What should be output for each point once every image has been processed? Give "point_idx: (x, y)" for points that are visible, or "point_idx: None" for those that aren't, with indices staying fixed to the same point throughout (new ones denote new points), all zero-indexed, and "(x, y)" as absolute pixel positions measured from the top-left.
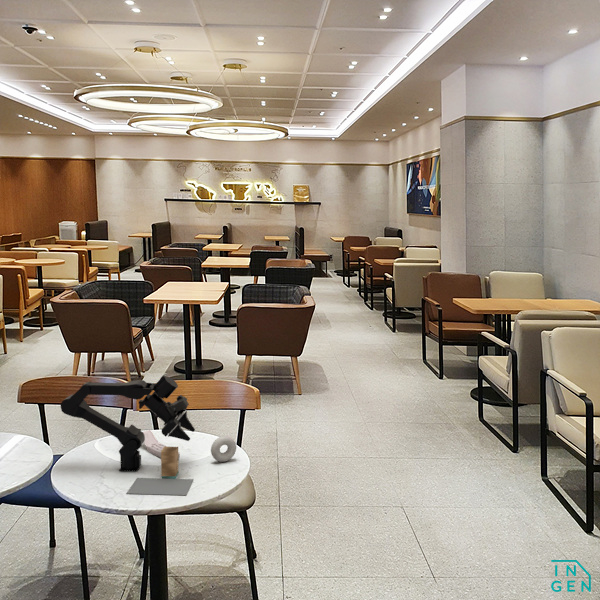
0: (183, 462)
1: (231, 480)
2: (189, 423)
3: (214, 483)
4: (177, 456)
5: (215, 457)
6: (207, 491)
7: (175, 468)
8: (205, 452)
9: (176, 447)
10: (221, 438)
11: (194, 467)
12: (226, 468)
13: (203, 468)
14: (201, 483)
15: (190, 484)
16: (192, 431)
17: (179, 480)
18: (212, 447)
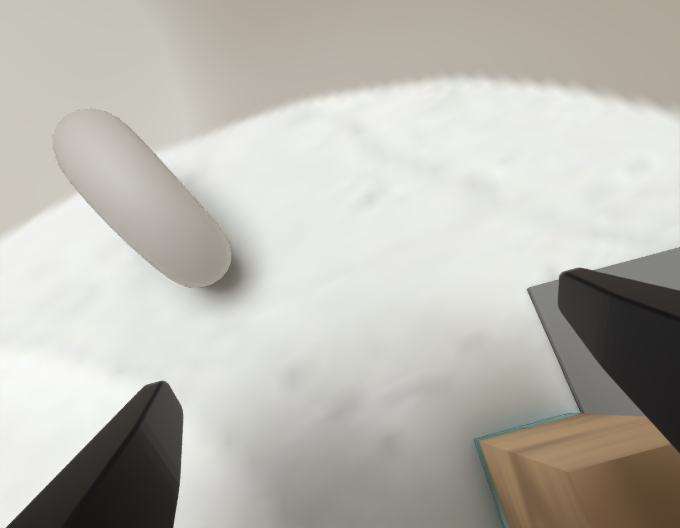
0: (268, 504)
1: (437, 107)
2: (84, 518)
3: (512, 164)
4: (565, 445)
5: (231, 255)
6: (625, 153)
7: (609, 416)
8: (52, 425)
9: (603, 484)
10: (128, 153)
11: (334, 377)
12: (291, 189)
13: (331, 312)
14: (547, 225)
15: (609, 269)
16: (181, 422)
17: (593, 366)
18: (203, 248)
